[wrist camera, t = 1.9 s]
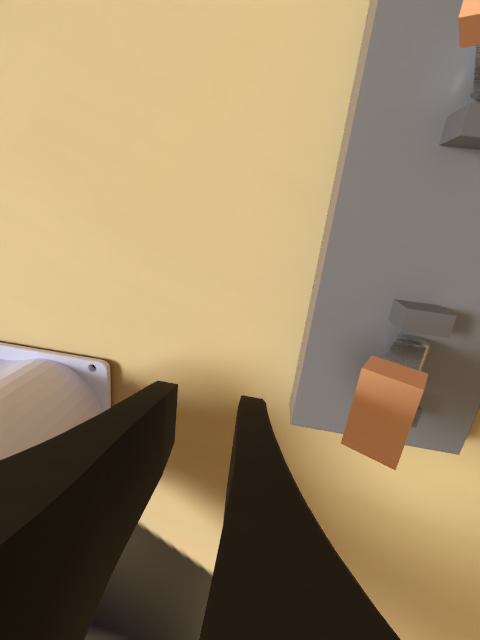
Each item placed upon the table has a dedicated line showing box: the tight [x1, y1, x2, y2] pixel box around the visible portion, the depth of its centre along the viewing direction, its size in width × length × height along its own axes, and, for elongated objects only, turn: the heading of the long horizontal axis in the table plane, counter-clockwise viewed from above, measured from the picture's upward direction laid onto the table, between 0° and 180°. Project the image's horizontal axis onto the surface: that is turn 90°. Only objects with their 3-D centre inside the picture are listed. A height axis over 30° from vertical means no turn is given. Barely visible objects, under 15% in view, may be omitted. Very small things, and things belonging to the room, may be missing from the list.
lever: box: [341, 334, 430, 470], centre depth 13 cm, size 2×3×6 cm, turn 173°
